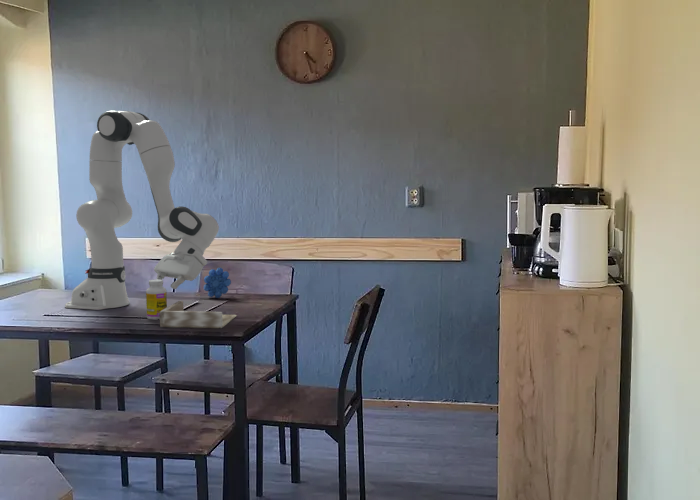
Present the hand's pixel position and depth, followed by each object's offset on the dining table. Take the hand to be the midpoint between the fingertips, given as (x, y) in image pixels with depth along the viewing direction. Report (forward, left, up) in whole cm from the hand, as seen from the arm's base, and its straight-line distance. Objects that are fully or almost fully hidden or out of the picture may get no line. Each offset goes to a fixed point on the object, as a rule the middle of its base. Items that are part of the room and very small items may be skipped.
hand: (164, 286), depth 245 cm
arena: (+14, -7, -10) cm, 19 cm away
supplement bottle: (-2, -3, -11) cm, 11 cm away
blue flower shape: (+8, +35, -11) cm, 38 cm away
